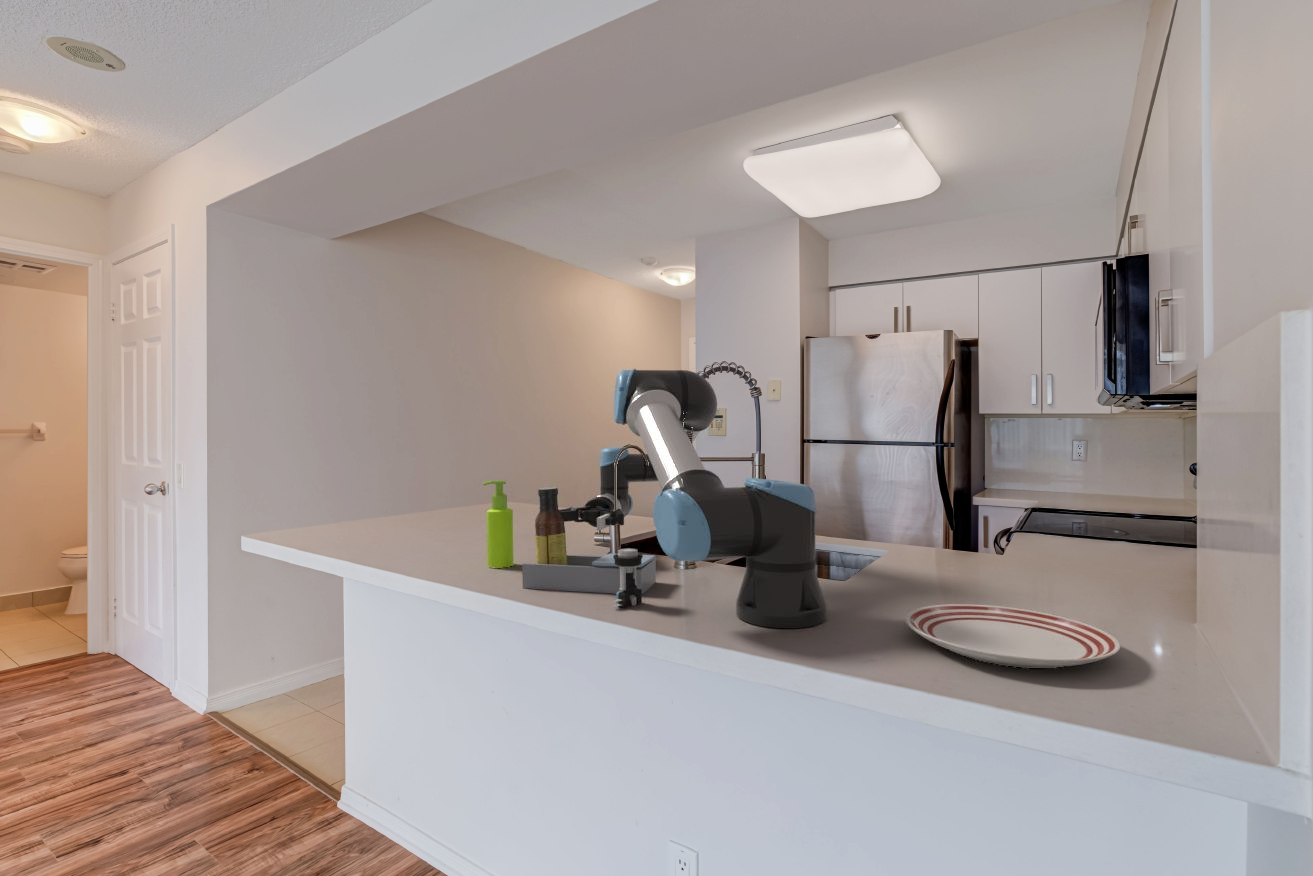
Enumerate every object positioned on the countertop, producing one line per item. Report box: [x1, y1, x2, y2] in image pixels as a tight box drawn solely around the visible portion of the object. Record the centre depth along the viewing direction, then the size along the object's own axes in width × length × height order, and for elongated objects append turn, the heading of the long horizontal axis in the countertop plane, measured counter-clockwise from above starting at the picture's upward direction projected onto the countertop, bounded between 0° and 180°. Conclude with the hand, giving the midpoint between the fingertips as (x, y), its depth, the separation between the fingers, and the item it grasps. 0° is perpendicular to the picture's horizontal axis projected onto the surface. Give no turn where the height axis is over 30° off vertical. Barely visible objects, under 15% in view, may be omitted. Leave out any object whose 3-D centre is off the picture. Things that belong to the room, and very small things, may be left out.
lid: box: [592, 553, 656, 567], centre depth 133 cm, size 10×11×1 cm
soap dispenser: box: [480, 480, 514, 569], centre depth 154 cm, size 6×7×20 cm
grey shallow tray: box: [521, 554, 657, 595], centre depth 135 cm, size 25×11×5 cm, turn 75°
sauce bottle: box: [534, 486, 568, 565], centre depth 137 cm, size 7×6×20 cm
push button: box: [612, 547, 644, 609], centre depth 120 cm, size 7×5×10 cm
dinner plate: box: [905, 603, 1121, 669], centre depth 97 cm, size 27×27×3 cm
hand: (569, 523), depth 147 cm, fingers open, 13 cm apart
